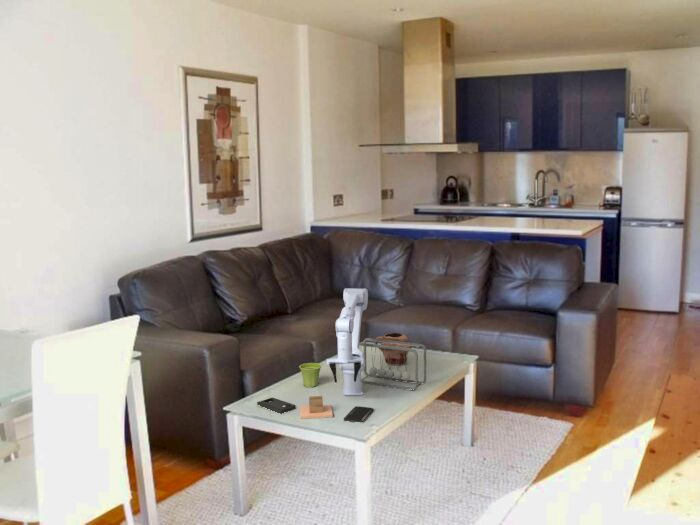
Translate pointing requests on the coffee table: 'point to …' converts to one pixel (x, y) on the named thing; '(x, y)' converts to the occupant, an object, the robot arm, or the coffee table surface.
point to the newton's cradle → (390, 373)
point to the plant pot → (310, 374)
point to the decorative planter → (395, 352)
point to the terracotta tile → (306, 413)
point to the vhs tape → (277, 405)
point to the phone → (358, 414)
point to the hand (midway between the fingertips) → (345, 381)
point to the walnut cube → (315, 404)
